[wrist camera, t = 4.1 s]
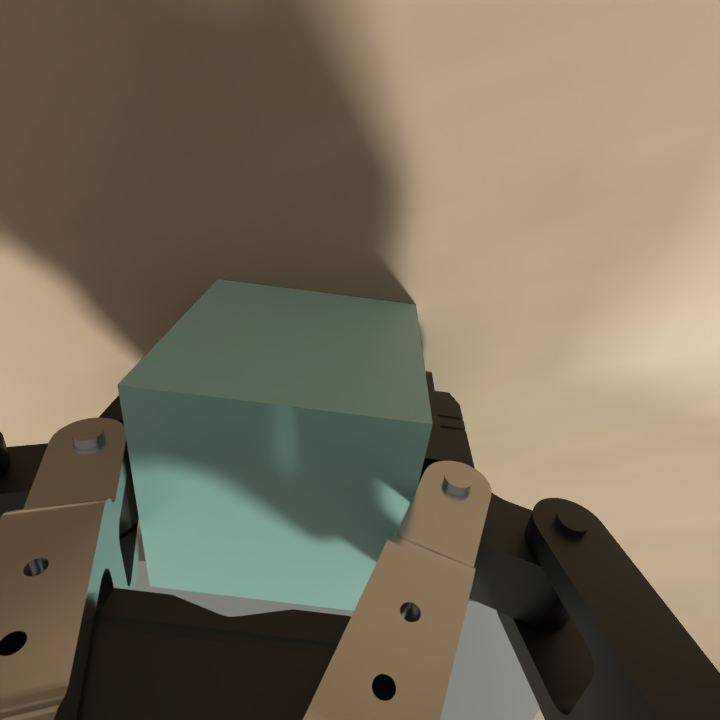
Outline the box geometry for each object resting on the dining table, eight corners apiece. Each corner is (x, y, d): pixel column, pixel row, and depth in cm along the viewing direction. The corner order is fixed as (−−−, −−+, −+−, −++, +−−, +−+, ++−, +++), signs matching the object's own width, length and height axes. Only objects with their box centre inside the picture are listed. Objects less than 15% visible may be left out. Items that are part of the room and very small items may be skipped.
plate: (9, 513, 16) (-22, 546, 15) (581, 583, 16) (596, 621, 15) (79, 715, 23) (62, 750, 22) (483, 763, 23) (489, 800, 22)
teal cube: (217, 279, 12) (117, 384, 7) (416, 304, 12) (432, 423, 7) (223, 436, 14) (150, 586, 10) (387, 456, 14) (387, 615, 10)
